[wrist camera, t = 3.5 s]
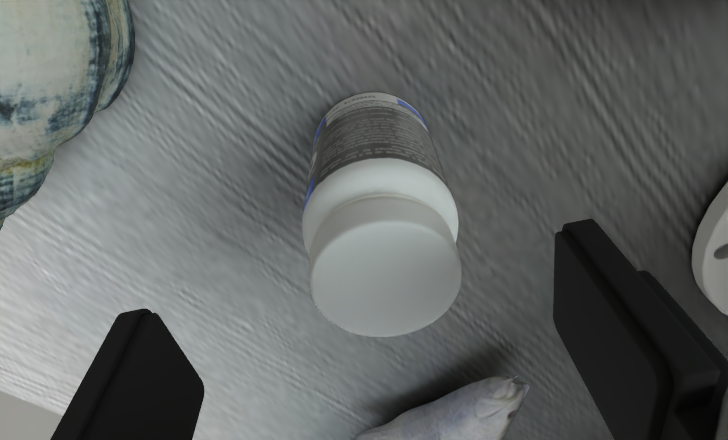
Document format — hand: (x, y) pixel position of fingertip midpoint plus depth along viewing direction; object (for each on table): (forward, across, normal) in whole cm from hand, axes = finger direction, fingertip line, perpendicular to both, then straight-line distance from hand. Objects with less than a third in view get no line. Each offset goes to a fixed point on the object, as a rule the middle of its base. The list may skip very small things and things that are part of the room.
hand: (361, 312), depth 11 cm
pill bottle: (+10, -1, 0) cm, 10 cm away
